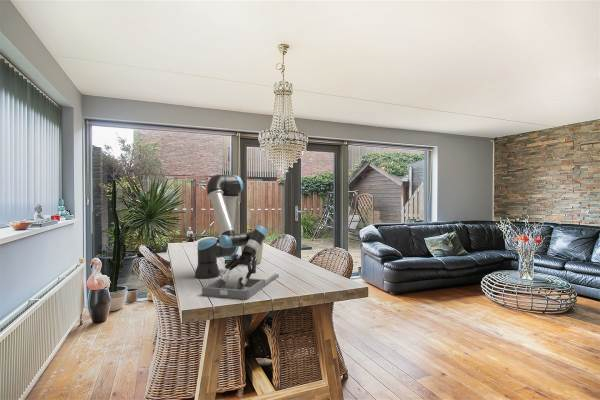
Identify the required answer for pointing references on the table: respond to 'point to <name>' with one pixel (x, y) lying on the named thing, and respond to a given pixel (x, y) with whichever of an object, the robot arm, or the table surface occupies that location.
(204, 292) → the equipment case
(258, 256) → the canister
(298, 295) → the table surface
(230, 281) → the ceramic mug
